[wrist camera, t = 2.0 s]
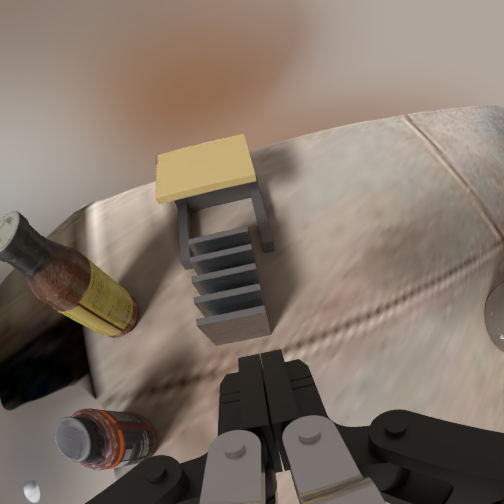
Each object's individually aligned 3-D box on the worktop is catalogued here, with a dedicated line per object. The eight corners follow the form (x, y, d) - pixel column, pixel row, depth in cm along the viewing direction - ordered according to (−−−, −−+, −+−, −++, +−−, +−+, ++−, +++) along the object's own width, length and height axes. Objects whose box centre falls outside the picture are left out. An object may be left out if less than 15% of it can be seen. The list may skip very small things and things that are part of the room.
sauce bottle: (127, 284, 37) (31, 181, 20) (149, 320, 34) (40, 223, 17) (90, 312, 36) (-18, 228, 19) (108, 351, 33) (-16, 278, 16)
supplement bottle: (108, 414, 29) (43, 403, 19) (153, 411, 29) (95, 402, 19) (116, 462, 26) (50, 468, 16) (162, 462, 26) (105, 475, 16)
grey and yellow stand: (258, 189, 42) (248, 132, 34) (274, 250, 37) (267, 195, 28) (180, 207, 42) (156, 155, 34) (184, 269, 37) (154, 222, 29)
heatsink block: (255, 262, 37) (247, 226, 30) (271, 334, 32) (265, 311, 26) (206, 273, 37) (188, 239, 30) (216, 345, 32) (196, 325, 26)
